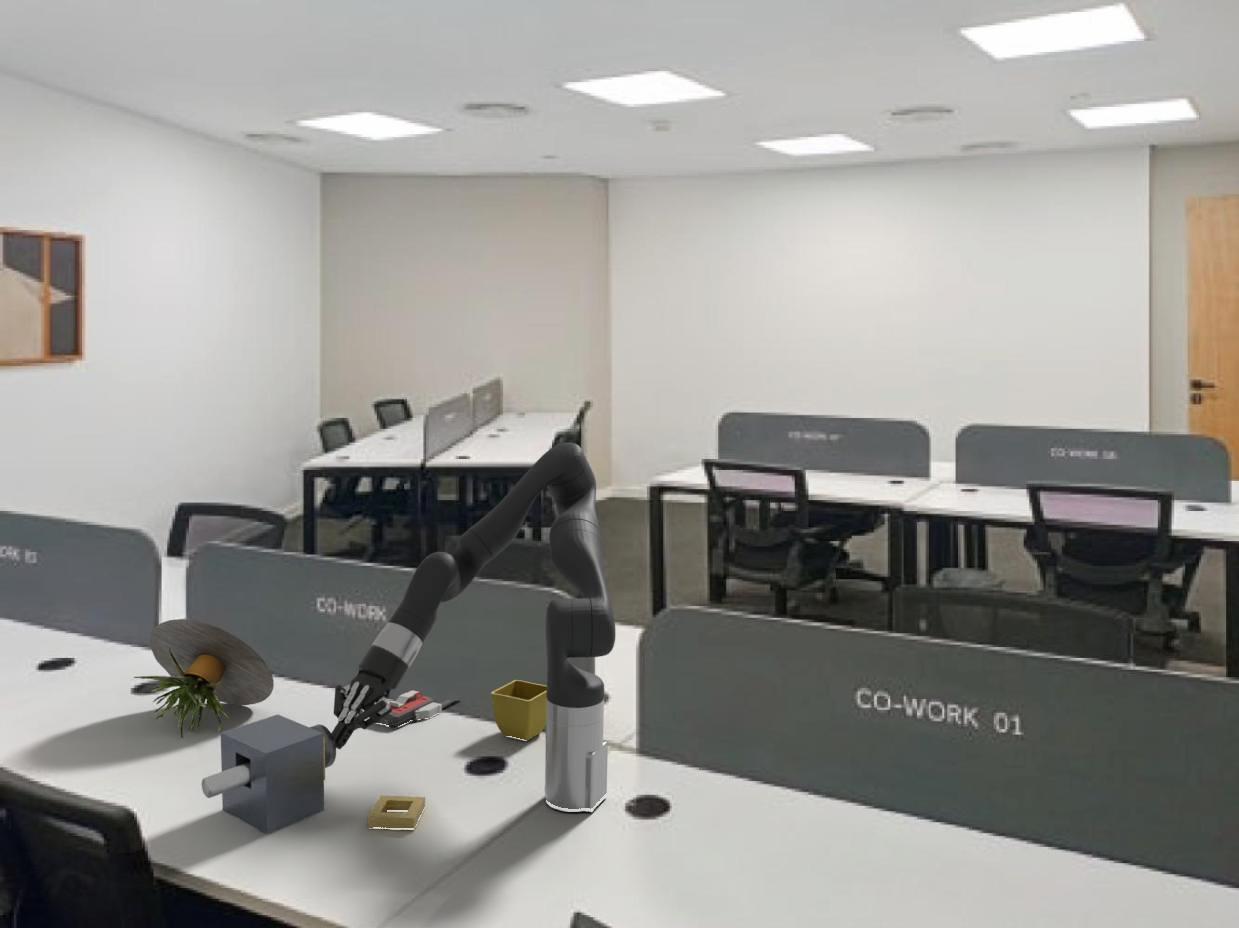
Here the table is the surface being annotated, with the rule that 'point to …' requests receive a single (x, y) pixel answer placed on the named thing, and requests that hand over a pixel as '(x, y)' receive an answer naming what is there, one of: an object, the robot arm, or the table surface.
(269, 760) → the bearing block
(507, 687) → the flower pot
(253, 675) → the potted plant
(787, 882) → the table surface
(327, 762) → the shaft
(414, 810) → the frame
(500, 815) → the table surface
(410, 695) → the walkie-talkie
